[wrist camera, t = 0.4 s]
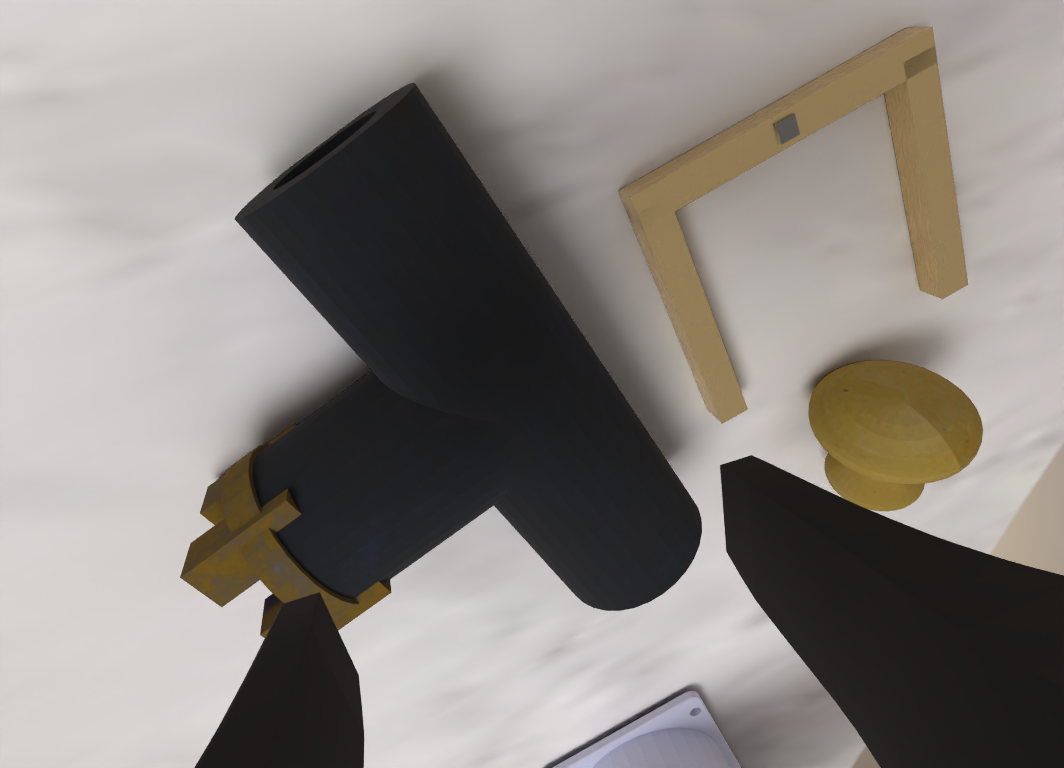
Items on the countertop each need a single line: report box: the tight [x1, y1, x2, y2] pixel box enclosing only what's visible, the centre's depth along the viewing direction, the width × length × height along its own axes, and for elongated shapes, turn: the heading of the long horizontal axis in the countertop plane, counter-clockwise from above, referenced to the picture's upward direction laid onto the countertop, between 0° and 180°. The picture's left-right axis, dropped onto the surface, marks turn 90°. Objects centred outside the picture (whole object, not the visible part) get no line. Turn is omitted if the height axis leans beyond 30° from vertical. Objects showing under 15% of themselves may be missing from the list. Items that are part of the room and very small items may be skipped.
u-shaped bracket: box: [618, 27, 968, 423], centre depth 21 cm, size 8×10×1 cm
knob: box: [809, 360, 983, 511], centre depth 23 cm, size 5×5×5 cm
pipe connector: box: [180, 83, 702, 638], centre depth 19 cm, size 12×5×15 cm
